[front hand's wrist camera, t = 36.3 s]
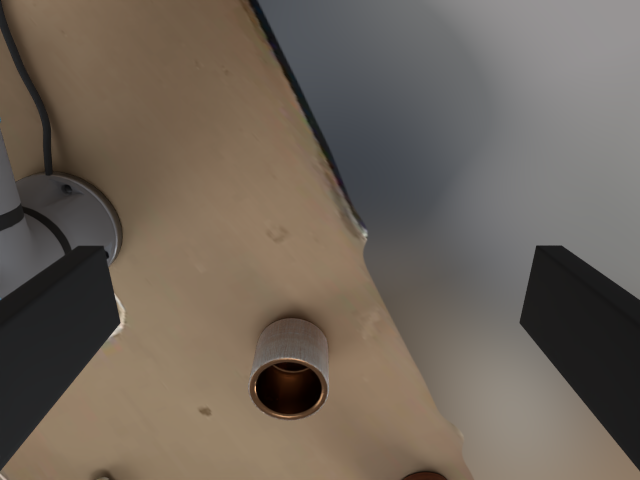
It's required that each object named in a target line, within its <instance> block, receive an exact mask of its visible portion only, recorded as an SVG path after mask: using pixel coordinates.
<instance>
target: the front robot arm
mask: <svg viewBox="0 0 640 480" xmlns="http://www.w3.org/2000/svg"><path fill="white" fill-rule="evenodd" d="M0 28H1V31H2V34H3V36H4V39H5V41H6V43H7V46H8V48H9V51H10V53H11V56H12V58H13V61H14V63H15V65H16V68H17V70H18V72H19V74H20V76H21V78H22V80H23V82H24V83H25V85H26V87H27V89H28V91H29V92H30V94H31V96H32V98H33V100H34V102H35V104H36V106H37V109H38V111H39V114H40V117H41V121H42V125H43V151H44V164H45V172H42V173H37V174H34V175H31V176H28V177H25V178H23V179H20V180H18V181H17V182H15V179H14V176H13V172H12V169H11V165H10V162H9V158H8V154H7V151H6V147H5V144H4V140H3V137H2V133H1V130H0V471H1V469H2V468H3V467H4V466H5V465H6V463H7V462H8V461H9V460H10V458H11V457H12V456H13V455H14V453H15V452H16V451H17V450H18V449H19V447H20V446H21V445H22V444H23V442H24V441H25V440H26V439H27V437H28V436H29V435H30V434H31V433H32V431H33V430H34V429H35V428H36V426H37V425H38V424H39V423H40V421H41V420H42V419H43V418H44V416H45V415H46V414H47V413H48V412H49V410H50V409H51V408H52V407H53V405H54V404H55V403H56V402H57V400H58V399H59V398H60V397H61V396H62V394H63V393H64V392H65V391H66V389H67V388H68V387H69V386H70V384H71V383H72V382H73V381H74V380H75V378H76V377H77V376H78V375H79V373H80V372H81V371H82V370H83V368H84V367H85V366H86V365H87V364H88V362H89V361H90V360H91V359H92V357H93V356H94V355H95V354H96V352H97V351H98V350H99V349H100V348H101V346H102V345H103V344H104V343H105V341H106V340H107V339H108V338H109V336H110V335H111V334H112V333H113V331H114V330H115V329H116V328H117V327H118V325H119V324H120V318H119V314H118V309H117V305H116V300H115V295H114V291H113V286H112V282H111V277H110V272H109V268H108V267H109V266H110V265H111V264H112V263H113V262H114V260H115V259H116V257H117V256H118V254H119V251H120V248H121V244H122V229H121V224H120V221H119V218H118V215H117V213H116V211H115V209H114V208H113V206H112V205H111V203H110V202H109V201H108V199H107V198H106V197H105V196H104V195H103V194H102V193H101V192H100V191H99V190H98V189H97V188H95V187H94V186H93V185H91V184H90V183H88V182H86V181H85V180H83V179H81V178H78V177H76V176H73V175H70V174H66V173H61V172H53V170H52V157H51V128H50V122H49V118H48V115H47V112H46V109H45V107H44V104H43V102H42V100H41V98H40V96H39V94H38V92H37V90H36V88H35V87H34V85H33V83H32V81H31V79H30V77H29V75H28V73H27V71H26V69H25V67H24V65H23V63H22V60H21V58H20V55H19V53H18V50H17V48H16V45H15V43H14V40H13V38H12V35H11V33H10V30H9V27H8V24H7V22H6V18H5V15H4V12H3V8H2V3H1V0H0ZM0 122H1V118H0ZM520 324H521V325H522V327H523V328H524V329H525V330H526V331H527V333H528V334H529V335H530V336H531V338H532V339H533V340H534V341H535V343H536V344H537V345H538V346H539V348H540V349H541V350H542V351H543V352H544V354H545V355H546V356H547V357H548V359H549V360H550V361H551V362H552V364H553V365H554V366H555V367H556V368H557V370H558V371H559V372H560V373H561V375H562V376H563V377H564V378H565V379H566V381H567V382H568V383H569V384H570V386H571V387H572V388H573V389H574V391H575V392H576V393H577V394H578V396H579V397H580V398H581V399H582V400H583V402H584V403H585V404H586V405H587V407H588V408H589V409H590V410H591V412H592V413H593V414H594V415H595V416H596V418H597V419H598V420H599V421H600V423H601V424H602V425H603V426H604V428H605V429H606V430H607V431H608V433H609V434H610V435H611V436H612V437H613V439H614V440H615V441H616V442H617V444H618V445H619V446H620V447H621V448H622V450H623V451H624V452H625V453H626V455H627V456H628V457H629V458H630V460H631V461H632V462H633V463H634V465H635V466H636V467H637V468H638V469H639V471H640V300H639V299H637V298H636V297H635V296H633V295H632V294H630V293H629V292H627V291H626V290H625V289H623V288H622V287H620V286H619V285H617V284H616V283H615V282H613V281H612V280H610V279H609V278H607V277H606V276H604V275H603V274H602V273H600V272H599V271H597V270H596V269H594V268H593V267H592V266H590V265H589V264H587V263H586V262H584V261H583V260H582V259H580V258H579V257H577V256H576V255H574V254H573V253H572V252H570V251H569V250H567V249H566V248H564V247H563V246H536V250H535V254H534V259H533V263H532V268H531V272H530V277H529V282H528V286H527V291H526V296H525V300H524V305H523V309H522V314H521V318H520Z"/></svg>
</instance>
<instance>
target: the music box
mask: <svg viewBox="0 0 640 480" xmlns="http://www.w3.org/2000/svg"><path fill="white" fill-rule="evenodd" d="M403 480H447V479H446V478H444V477H443V476H441V475H439V474H436V473H430V472H422V473H416V474H413V475H410V476H408V477H406V478H405V479H403Z"/></svg>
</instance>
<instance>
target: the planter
mask: <svg viewBox="0 0 640 480" xmlns="http://www.w3.org/2000/svg"><path fill="white" fill-rule="evenodd" d="M248 390H249V395H250V398H251V400H252V402H253V403H254V405H255V406H256V407H257V408H258V409H259V410H260V411H262V412H263V413H265V414H266V415H268V416H271V417H273V418H276V419H281V420H298V419H303V418H306V417H309V416H311V415H313V414H314V413H316V412H317V411H318V410H319V409H320V408H321V407H322V406H323V405H324V404H325V402H326V400H327V397H328V392H329V376H328V344H327V340H326V337H325V335H324V334H323V332H322V331H321V330H320V329H319V328H318V327H317V326H316V325H314V324H313V323H311V322H309V321H306V320H303V319H298V318H286V319H281V320H278V321H275V322H273V323H272V324H270V325H269V326H267V327H266V328H265V329H264V331H263V332H262V333H261V335H260V337H259V339H258V342H257V347H256V352H255V356H254V361H253V366H252V371H251V375H250V380H249V386H248Z"/></svg>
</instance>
